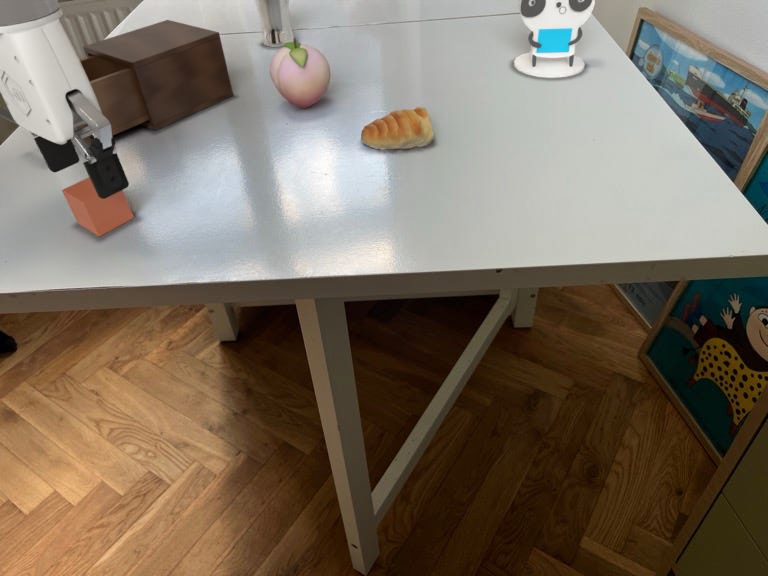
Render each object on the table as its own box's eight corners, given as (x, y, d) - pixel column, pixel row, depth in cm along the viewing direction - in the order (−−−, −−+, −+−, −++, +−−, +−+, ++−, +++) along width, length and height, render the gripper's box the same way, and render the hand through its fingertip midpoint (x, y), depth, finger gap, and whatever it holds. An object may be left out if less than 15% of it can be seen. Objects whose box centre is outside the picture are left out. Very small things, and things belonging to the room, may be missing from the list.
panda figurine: (512, 77, 89) (523, -28, 79) (508, 53, 97) (518, -45, 87) (589, 77, 87) (611, -30, 77) (578, 52, 96) (596, -47, 86)
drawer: (51, 167, 71) (22, 108, 65) (10, 144, 76) (-20, 88, 71) (171, 114, 81) (154, 60, 76) (127, 98, 87) (109, 46, 81)
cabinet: (155, 130, 79) (132, 62, 73) (107, 110, 85) (82, 46, 79) (233, 95, 88) (219, 32, 81) (184, 80, 94) (167, 19, 87)
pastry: (369, 158, 71) (368, 130, 68) (355, 136, 75) (353, 109, 73) (438, 144, 73) (438, 117, 70) (419, 124, 77) (419, 97, 75)
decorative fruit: (344, 111, 82) (337, 41, 75) (292, 125, 79) (281, 53, 72) (318, 91, 88) (310, 24, 81) (269, 103, 85) (257, 34, 78)
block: (99, 237, 60) (82, 202, 57) (77, 223, 62) (61, 189, 59) (134, 218, 63) (120, 184, 60) (112, 205, 65) (98, 172, 62)
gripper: (-78, 2, 49) (16, 172, 61) (11, 29, 41) (101, 221, 52) (6, -18, 54) (79, 145, 65) (102, 4, 45) (167, 186, 57)
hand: (89, 178), depth 59 cm, fingers open, 9 cm apart
